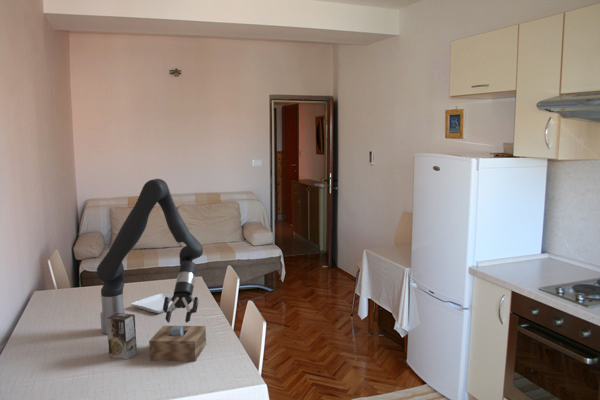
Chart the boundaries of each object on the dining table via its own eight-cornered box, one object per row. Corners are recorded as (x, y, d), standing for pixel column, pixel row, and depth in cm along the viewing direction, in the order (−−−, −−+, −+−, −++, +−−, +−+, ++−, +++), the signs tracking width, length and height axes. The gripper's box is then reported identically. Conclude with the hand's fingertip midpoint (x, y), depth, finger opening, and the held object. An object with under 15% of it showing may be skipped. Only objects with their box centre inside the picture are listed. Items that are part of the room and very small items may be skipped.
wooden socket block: (150, 360, 189) (149, 340, 188) (164, 343, 205) (163, 325, 204) (195, 361, 188) (194, 341, 187) (206, 344, 204) (205, 325, 203)
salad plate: (189, 304, 257) (189, 298, 257) (158, 316, 240) (157, 310, 239) (161, 298, 269) (161, 292, 268) (129, 309, 251) (129, 303, 250)
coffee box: (137, 352, 197) (135, 314, 195) (127, 359, 191) (124, 319, 189) (119, 350, 200) (116, 312, 198) (108, 356, 194) (105, 317, 192)
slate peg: (173, 354, 195) (170, 330, 194) (175, 349, 199) (172, 326, 198) (183, 353, 195) (180, 329, 193) (185, 349, 199) (182, 325, 197)
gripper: (165, 280, 202) (157, 317, 192) (199, 280, 202) (192, 317, 191) (170, 289, 208) (162, 325, 198) (203, 289, 207) (197, 325, 197)
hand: (177, 321), depth 195 cm, fingers open, 7 cm apart
